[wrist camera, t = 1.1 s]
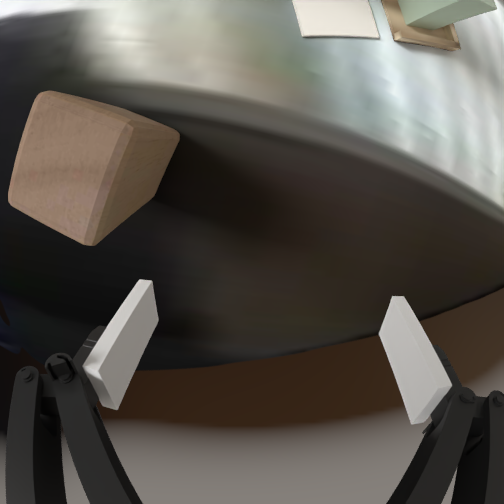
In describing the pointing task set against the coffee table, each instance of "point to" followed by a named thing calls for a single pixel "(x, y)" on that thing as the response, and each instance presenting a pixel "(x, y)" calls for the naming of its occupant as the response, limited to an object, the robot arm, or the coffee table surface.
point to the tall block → (441, 11)
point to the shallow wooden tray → (419, 30)
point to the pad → (335, 18)
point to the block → (87, 165)
